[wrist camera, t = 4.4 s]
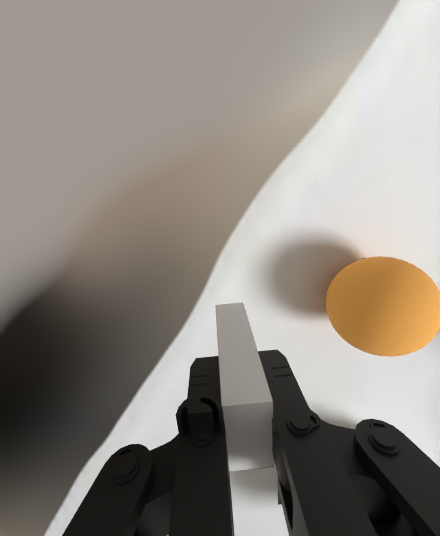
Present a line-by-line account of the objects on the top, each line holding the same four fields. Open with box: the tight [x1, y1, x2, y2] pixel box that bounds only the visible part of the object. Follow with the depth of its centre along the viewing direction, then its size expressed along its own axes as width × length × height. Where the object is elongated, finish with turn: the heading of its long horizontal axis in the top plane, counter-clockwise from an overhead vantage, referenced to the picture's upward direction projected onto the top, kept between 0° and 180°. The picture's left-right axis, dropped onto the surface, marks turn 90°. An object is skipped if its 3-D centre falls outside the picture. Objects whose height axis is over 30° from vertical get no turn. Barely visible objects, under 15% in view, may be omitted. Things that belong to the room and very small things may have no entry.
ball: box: [326, 257, 440, 356], centre depth 15 cm, size 6×6×6 cm
